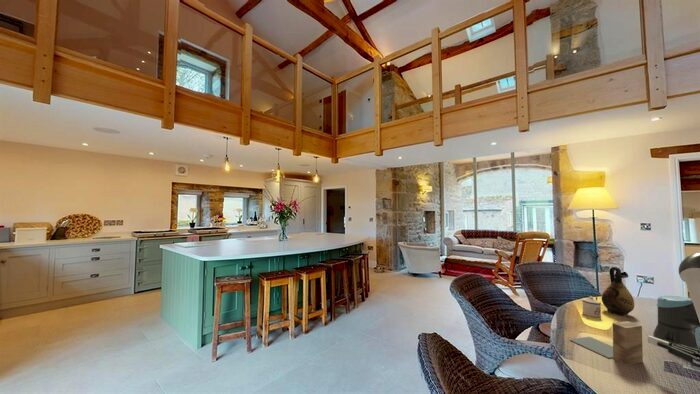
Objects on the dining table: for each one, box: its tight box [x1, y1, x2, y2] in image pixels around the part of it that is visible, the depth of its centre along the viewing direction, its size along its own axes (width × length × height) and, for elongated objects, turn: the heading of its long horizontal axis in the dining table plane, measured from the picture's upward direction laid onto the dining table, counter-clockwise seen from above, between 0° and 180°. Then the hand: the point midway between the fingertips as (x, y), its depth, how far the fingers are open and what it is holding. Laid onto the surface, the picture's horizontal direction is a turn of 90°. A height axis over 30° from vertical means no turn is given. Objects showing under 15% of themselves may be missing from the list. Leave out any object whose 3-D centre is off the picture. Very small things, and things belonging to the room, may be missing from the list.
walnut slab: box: [612, 320, 644, 366], centre depth 120 cm, size 5×10×16 cm, turn 104°
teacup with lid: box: [581, 296, 602, 318], centre depth 173 cm, size 12×9×12 cm
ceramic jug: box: [601, 266, 635, 317], centre depth 176 cm, size 17×15×30 cm
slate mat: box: [569, 336, 613, 359], centre depth 131 cm, size 17×14×1 cm
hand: (649, 339), depth 113 cm, fingers closed
